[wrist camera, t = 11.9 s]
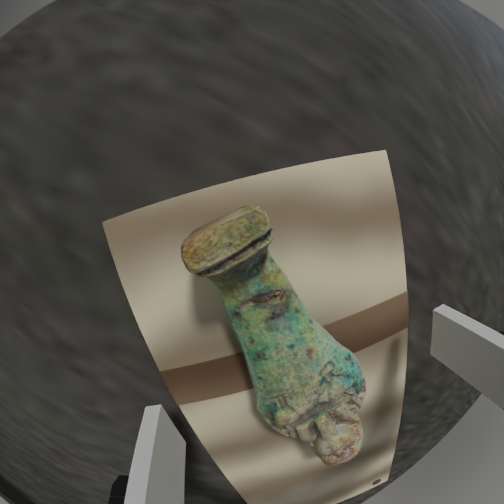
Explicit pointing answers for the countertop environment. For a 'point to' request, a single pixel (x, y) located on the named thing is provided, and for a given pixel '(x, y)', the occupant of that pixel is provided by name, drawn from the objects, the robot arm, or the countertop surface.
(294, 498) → the board
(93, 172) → the countertop surface
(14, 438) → the countertop surface
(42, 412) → the countertop surface
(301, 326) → the figurine
